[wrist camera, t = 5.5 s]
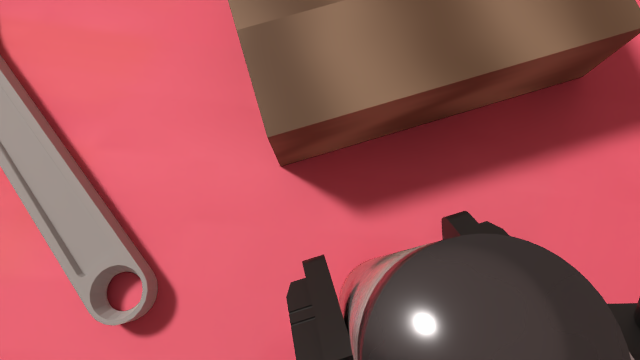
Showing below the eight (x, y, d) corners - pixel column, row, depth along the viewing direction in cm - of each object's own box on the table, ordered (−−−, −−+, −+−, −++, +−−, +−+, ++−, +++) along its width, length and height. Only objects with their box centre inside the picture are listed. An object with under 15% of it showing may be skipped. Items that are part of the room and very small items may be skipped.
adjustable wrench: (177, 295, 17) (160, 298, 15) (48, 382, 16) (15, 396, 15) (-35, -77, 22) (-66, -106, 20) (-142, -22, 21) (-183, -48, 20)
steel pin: (355, 367, 16) (416, 570, 5) (327, 272, 17) (328, 276, 6) (446, 337, 16) (687, 472, 5) (412, 245, 17) (562, 203, 6)
